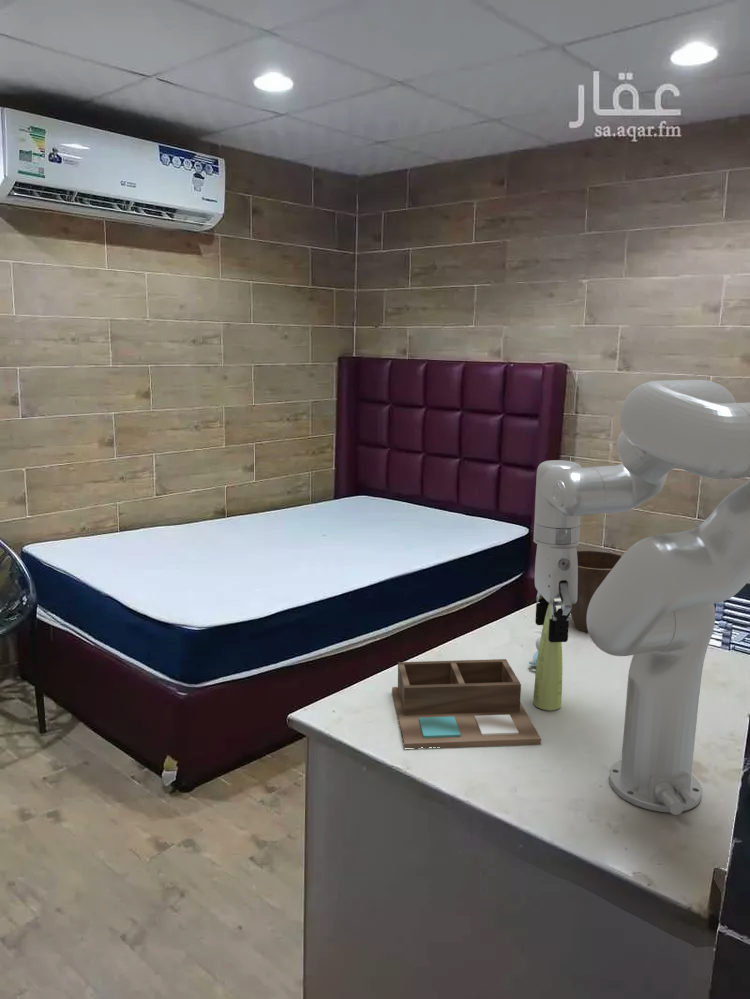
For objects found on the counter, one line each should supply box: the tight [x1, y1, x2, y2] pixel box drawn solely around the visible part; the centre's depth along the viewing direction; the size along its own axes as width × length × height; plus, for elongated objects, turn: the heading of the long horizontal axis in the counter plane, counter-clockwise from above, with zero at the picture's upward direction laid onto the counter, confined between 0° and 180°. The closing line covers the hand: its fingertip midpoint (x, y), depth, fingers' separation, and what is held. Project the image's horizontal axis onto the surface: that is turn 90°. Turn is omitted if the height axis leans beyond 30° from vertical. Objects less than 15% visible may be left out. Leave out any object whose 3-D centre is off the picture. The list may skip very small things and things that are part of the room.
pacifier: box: [528, 636, 541, 667], centre depth 151 cm, size 7×6×6 cm
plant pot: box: [570, 550, 623, 633], centre depth 171 cm, size 15×15×16 cm
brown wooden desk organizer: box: [391, 658, 542, 749], centre depth 131 cm, size 20×22×6 cm
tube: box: [532, 603, 563, 711], centre depth 134 cm, size 6×5×20 cm
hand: (551, 632), depth 133 cm, fingers closed on tube, 7 cm apart
